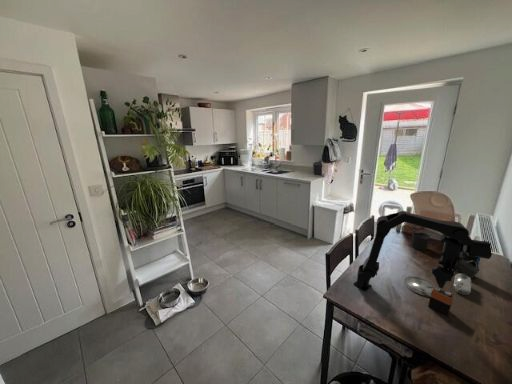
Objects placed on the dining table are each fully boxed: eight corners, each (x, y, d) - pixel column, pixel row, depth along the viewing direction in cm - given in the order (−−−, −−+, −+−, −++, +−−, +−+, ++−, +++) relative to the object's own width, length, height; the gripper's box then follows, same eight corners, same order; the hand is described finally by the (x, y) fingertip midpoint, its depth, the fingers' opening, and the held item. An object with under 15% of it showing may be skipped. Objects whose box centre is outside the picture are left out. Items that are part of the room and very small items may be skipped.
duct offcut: (469, 297, 99) (472, 286, 97) (452, 290, 103) (454, 280, 101) (469, 286, 105) (472, 276, 104) (453, 281, 109) (456, 271, 108)
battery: (447, 316, 88) (452, 297, 86) (427, 306, 94) (432, 288, 91) (449, 311, 91) (454, 292, 88) (430, 302, 96) (434, 284, 94)
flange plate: (432, 301, 96) (433, 299, 96) (399, 284, 108) (399, 282, 107) (442, 289, 104) (443, 287, 103) (410, 274, 115) (411, 272, 115)
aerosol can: (457, 276, 112) (466, 244, 107) (452, 268, 119) (460, 237, 114) (478, 281, 109) (488, 248, 103) (471, 272, 116) (480, 240, 110)
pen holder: (425, 253, 136) (428, 239, 133) (408, 247, 142) (411, 234, 140) (428, 247, 142) (431, 234, 139) (411, 243, 148) (414, 230, 146)
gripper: (473, 269, 74) (464, 305, 78) (484, 252, 84) (475, 284, 88) (434, 256, 83) (427, 288, 87) (448, 242, 93) (442, 271, 97)
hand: (444, 283), depth 89 cm, fingers open, 9 cm apart
